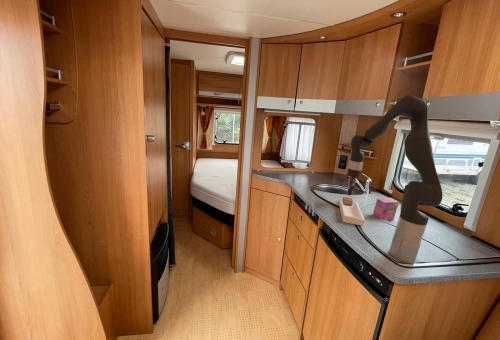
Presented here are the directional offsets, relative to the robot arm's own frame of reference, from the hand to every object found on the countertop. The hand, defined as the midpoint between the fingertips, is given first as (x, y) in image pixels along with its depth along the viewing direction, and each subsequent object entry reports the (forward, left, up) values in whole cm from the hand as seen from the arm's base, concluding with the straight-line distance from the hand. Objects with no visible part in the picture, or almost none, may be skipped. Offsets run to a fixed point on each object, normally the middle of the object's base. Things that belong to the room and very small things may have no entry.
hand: (348, 194), depth 138 cm
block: (+2, 0, -9) cm, 9 cm away
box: (-7, -19, -9) cm, 22 cm away
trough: (-13, 0, -8) cm, 16 cm away
